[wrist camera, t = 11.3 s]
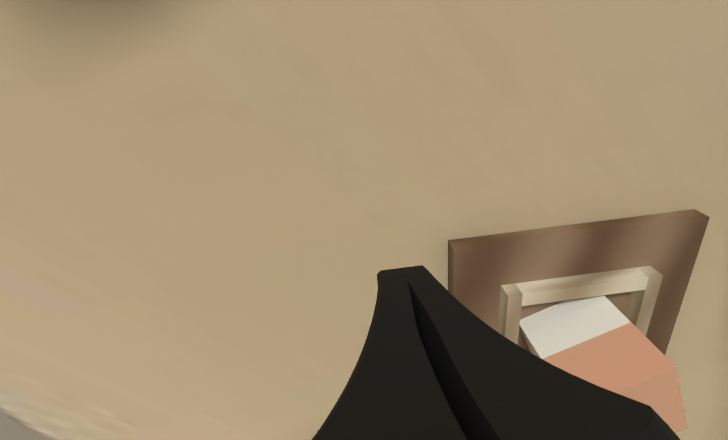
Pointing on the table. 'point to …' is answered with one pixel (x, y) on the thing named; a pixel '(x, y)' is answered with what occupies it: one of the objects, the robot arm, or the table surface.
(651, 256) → the walnut board
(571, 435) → the robot arm
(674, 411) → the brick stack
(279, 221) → the table surface
